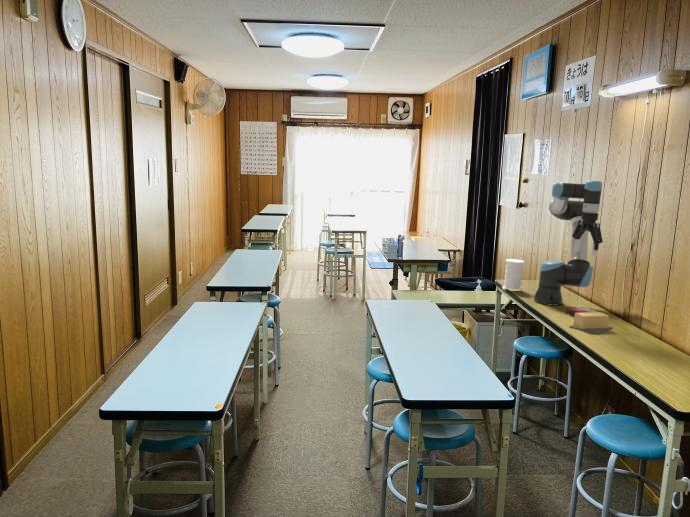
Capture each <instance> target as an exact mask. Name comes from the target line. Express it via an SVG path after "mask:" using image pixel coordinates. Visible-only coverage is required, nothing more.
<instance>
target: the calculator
mask: <svg viewBox="0 0 690 517" xmlns="http://www.w3.org/2000/svg"><path fill="white" fill-rule="evenodd" d="M565 312H566V313H565V314H566V315H567V314H569V315H568V316H570V315H571V316H570V317H573V316H575V313H588V312H598V310H594V309H590V308H587V307H583V306H581V307H569V308H567V309H566V311H565ZM602 313H603V312H602ZM603 314H605V313H603Z"/></svg>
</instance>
